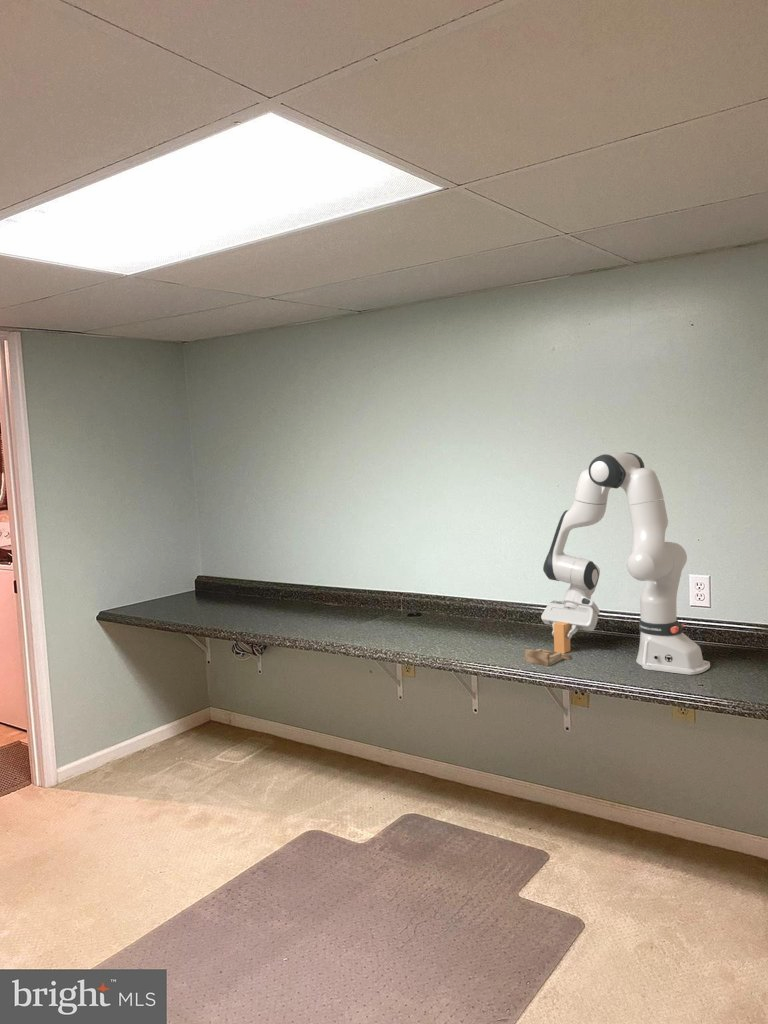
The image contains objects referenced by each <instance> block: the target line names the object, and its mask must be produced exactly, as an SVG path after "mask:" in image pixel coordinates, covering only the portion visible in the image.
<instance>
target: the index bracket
mask: <svg viewBox="0 0 768 1024" xmlns="http://www.w3.org/2000/svg"><path fill="white" fill-rule="evenodd" d="M542 650H543V649H542V648H538V649H535V650H533V649H528V648H527V649H525V650H524V656H525V657H524V659H525V660H524V661H525V662H526V663H531V664H535V665H540V666H545V667H549V666H551V665H554V664H556V663H559V662H560V661H562V660H563V658H562V653H560V652H558V653H555V654H553V655H551V656H549V653H545V652H542Z"/></svg>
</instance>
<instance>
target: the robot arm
mask: <svg viewBox="0 0 768 1024" xmlns="http://www.w3.org/2000/svg"><path fill="white" fill-rule="evenodd" d="M575 487H576V488H575V491H574V498H573V502H572V505H571V507H570V508H568V509H566V510H564V511H563V513H562V514H561V516H560V519H559V521H558V523H557V527H556V529H555V533H554V535H553V538H552V541H551V544H550V545H551V546H550V547H549V551H548V553H547V555H546V558H545V561H544V563H543V567H542V568H543V572H544V574H545V576H546V577H547V578H548V579H549V581H556V582H563V583H566V584H570V586H569V587H568V589H567V590H566V592H565V594H564V597H563V599H562V601H561V600H560V601H558V600H552V601H551V602H548V603H547V605H546V607H545V609H544V610H543V612H542V614H541V615H540V619H541V620H542V622H543V623H544V624H545V625H550V626H552V631H551V635H552V636H553V637H554V625H553V624H554V623H556V622H566V623H569V624H570V631H569V632H566V635H565V637H566V638H569V639H570V640H571V639H572V637H573V636H574V635H575V634H576V633H577V632H578V631H579V630H581V631H588V632H592V631H594V630H595V629H596V626H597V623H598V620H599V614H600V612H601V611H600V609H599V607H598V605H597V604H596V603H595V602H594V600H593V599H592V595H593V594H594V593H595V590H596V588H597V586H598V582H599V579H600V575H601V570H600V568H599V566H598V565H596V564H595V563H594V562H593V561H592V560H589V559H586V558H582V557H577V556H573V555H569V554H566V553H565V552H564V549H565V546H566V544H567V540H568V537H569V534H570V533H571V531H572V530H574V529H578V528H583V527H589V526H593V525H595V524H597V523H599V522H600V521H601V520H602V519H603V518H604V516H605V513H606V510H607V505H608V504H607V503H608V498H609V497H608V496H609V492H610V489H619V488H621V489H622V490H623V491H624V492H625V494H626V499H627V504H628V510H629V515H630V521H631V529H632V538H631V539H632V541H631V549H630V550H631V551H630V553H629V556H628V559H627V560H626V568H627V571H628V573H629V575H630V576H631V577H632V578H633V579H634V580H637V581H640V582H645V584H644V587H643V590H642V592H641V594H640V597H639V601H640V602H639V603H640V605H639V607H640V609H639V610H640V618H639V621H638V622H639V623H638V624H639V625H638V629H639V630H638V631H639V633H638V634H639V635H640V637H639V647H638V653H637V656H636V660H635V662H636V663H637V664H638V665H640V666H641V667H642V669H644V670H649V671H658V672H665V673H674V674H681V675H688V676H689V675H690V676H691V675H693V676H694V675H698V674H702V673H705V672H706V671H707V670H709V669H710V667H711V663H710V661H708V660H704V658H703V653H702V649H701V647H700V645H698V644H697V643H696V642H695V641H694V640H692V639H691V638H690V637H689V636H688V635H686V634H685V633H684V632H683V628H684V627H685V623H684V622H683V623H680V622H679V621H678V619H677V597H678V590H679V585H680V581H681V577H682V571H683V569H684V567H685V565H686V563H687V560H688V556H687V552H686V550H685V548H684V547H683V546H682V545H680V544H679V543H676V542H672V541H666V540H665V537H666V531H667V528H668V526H669V519H668V513H667V508H666V504H665V503H666V502H665V499H664V498H665V497H664V494H663V489H662V487H661V484H660V481H659V478H658V475H657V473H656V471H654V470H653V469H650V468H648V467H645V463H644V460H643V459H642V457H641V456H639V455H638V454H635V453H632V452H611V453H607V454H606V453H605V454H601V455H598V456H597V457H595V458H593V460H592V461H591V462H590V463H589V466H588V468H586V469H584V470H582V472H581V473H580V475H579V477H578V481H577V484H576V486H575Z"/></svg>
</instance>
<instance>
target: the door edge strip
mask: <svg viewBox="0 0 768 1024" xmlns="http://www.w3.org/2000/svg"><path fill="white" fill-rule="evenodd" d="M542 652H545V653H549V656H551V655H553V654H555V653H558V652H554V651H552V650H545V649H542ZM563 659H565V660H568V661H569V660H571V659H572V654H569V653H562V660H563Z"/></svg>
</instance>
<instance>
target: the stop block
mask: <svg viewBox="0 0 768 1024" xmlns="http://www.w3.org/2000/svg"><path fill="white" fill-rule="evenodd" d="M553 625H554V636H553V649H554V650H553V652H560V653H563V654H568V653H569V652H571V639H569V638H566V637H565V635H566V632H569V631H570V630H571V628H570V624H569V623H566V622H556V623H554V624H553Z"/></svg>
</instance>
